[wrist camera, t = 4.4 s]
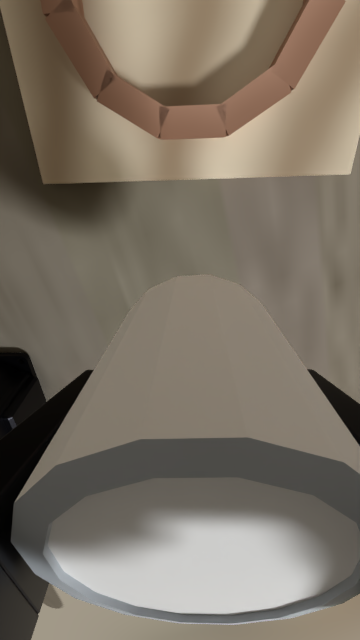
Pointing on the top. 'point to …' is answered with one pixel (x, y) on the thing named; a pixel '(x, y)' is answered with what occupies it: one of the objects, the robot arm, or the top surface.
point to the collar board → (187, 87)
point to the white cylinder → (197, 471)
